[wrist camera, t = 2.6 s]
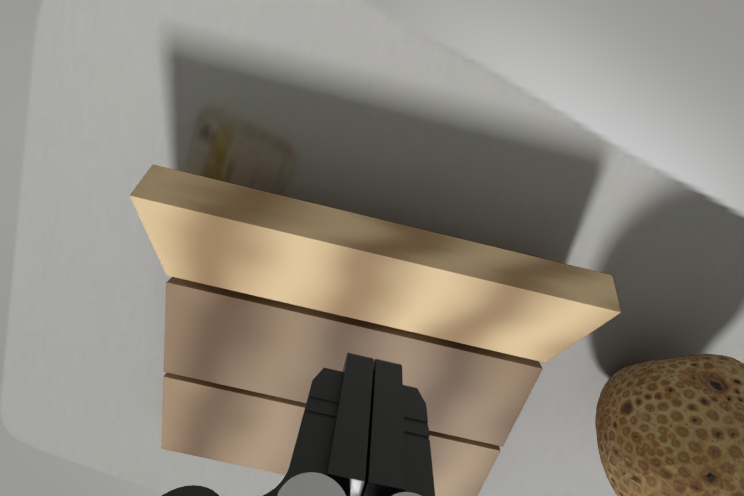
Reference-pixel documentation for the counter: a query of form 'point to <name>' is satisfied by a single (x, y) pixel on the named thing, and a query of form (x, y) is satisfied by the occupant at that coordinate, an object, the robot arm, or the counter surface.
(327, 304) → the board
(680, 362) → the natural sponge
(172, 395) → the laid floor
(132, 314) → the counter surface
